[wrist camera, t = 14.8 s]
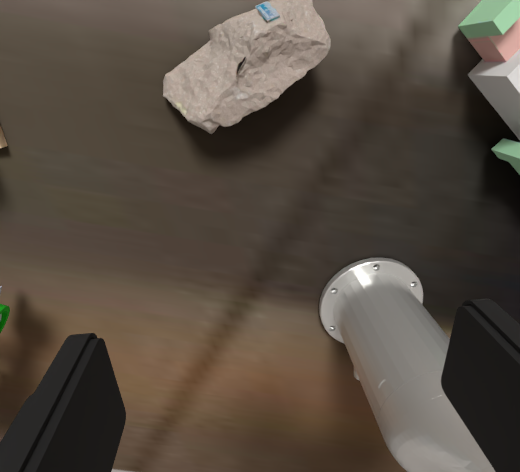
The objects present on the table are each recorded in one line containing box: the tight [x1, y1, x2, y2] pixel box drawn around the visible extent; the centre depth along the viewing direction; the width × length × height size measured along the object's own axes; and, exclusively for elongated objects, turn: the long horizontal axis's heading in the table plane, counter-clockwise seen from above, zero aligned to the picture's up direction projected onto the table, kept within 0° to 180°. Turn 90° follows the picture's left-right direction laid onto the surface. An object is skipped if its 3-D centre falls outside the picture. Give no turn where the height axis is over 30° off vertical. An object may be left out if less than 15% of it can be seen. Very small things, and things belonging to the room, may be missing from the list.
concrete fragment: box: [163, 0, 331, 134], centre depth 29 cm, size 7×14×6 cm, turn 120°
